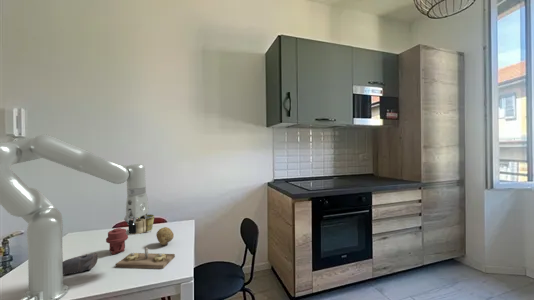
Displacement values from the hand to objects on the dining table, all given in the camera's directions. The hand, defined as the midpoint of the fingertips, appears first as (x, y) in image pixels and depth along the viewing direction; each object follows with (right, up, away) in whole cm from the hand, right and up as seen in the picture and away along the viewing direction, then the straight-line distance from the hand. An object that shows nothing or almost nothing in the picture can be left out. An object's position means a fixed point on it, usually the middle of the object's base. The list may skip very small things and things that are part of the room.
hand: (137, 230), depth 111 cm
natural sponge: (+1, -18, +29) cm, 34 cm away
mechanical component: (-21, -18, +19) cm, 34 cm away
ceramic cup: (-23, -18, +52) cm, 60 cm away
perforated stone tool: (-26, -19, -2) cm, 33 cm away
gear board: (0, -18, +8) cm, 20 cm away
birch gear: (0, -1, 0) cm, 1 cm away
